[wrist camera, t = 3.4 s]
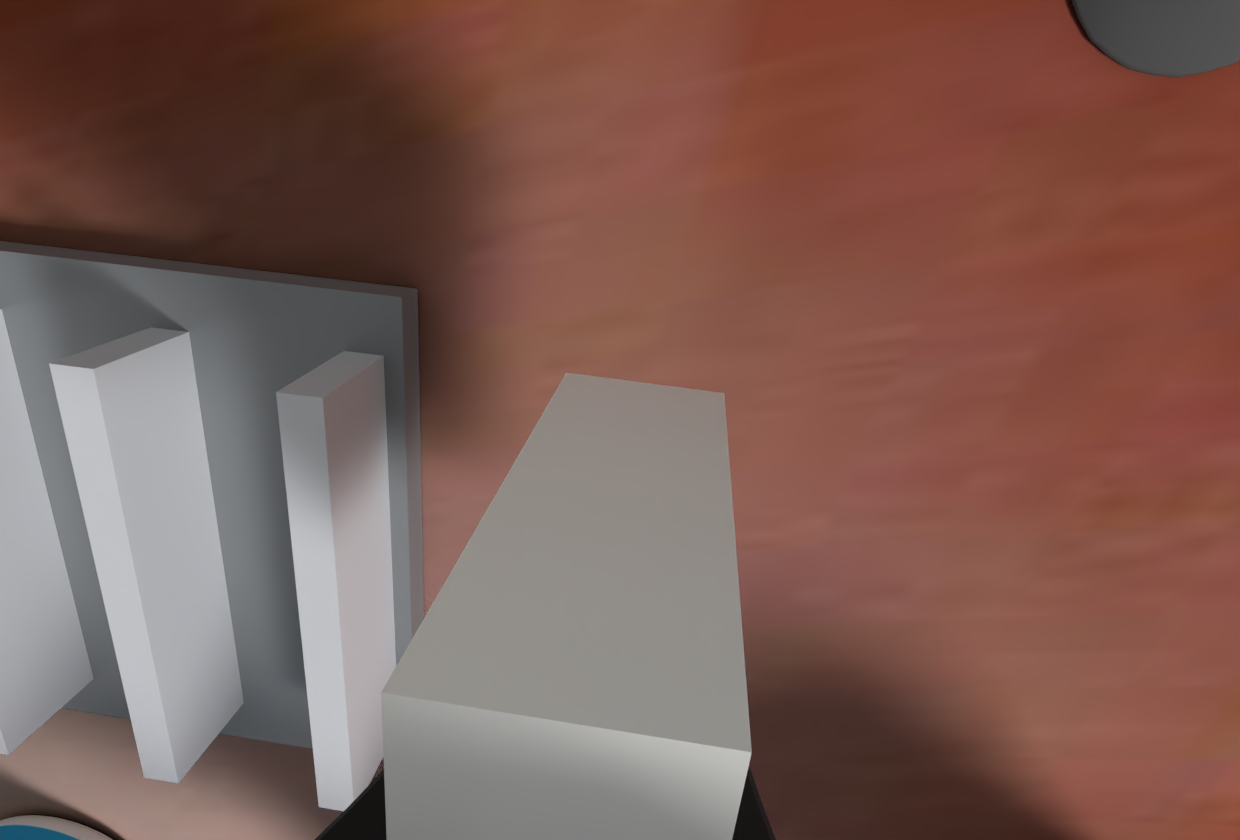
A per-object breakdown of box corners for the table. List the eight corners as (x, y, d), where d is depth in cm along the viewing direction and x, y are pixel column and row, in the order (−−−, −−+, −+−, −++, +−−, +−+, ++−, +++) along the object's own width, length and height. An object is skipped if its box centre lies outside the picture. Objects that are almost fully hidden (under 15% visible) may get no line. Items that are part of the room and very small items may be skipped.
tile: (662, 769, 14) (627, 1303, 8) (538, 749, 14) (402, 1256, 8) (724, 393, 11) (751, 752, 5) (566, 372, 11) (380, 694, 5)
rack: (427, 740, 23) (374, 854, 20) (-52, 664, 25) (-186, 758, 21) (417, 288, 18) (341, 330, 14) (-207, 217, 19) (-428, 238, 15)
